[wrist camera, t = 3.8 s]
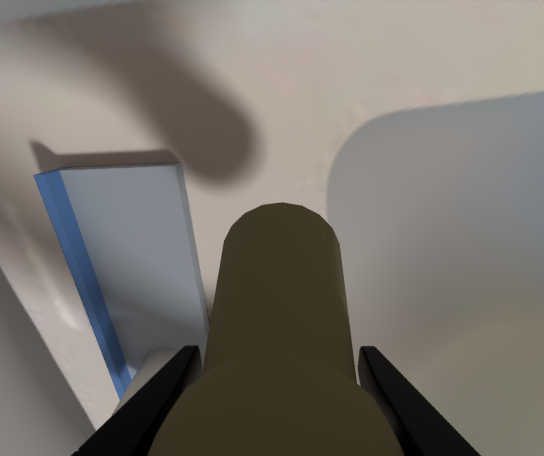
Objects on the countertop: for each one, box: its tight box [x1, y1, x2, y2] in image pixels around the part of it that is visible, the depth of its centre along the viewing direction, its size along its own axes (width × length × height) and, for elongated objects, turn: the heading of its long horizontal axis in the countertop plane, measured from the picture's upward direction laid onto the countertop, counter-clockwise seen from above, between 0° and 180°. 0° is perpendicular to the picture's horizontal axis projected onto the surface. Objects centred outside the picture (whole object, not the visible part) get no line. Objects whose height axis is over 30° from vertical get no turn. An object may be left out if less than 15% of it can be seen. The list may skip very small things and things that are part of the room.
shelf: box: [34, 163, 210, 400], centre depth 22 cm, size 21×9×2 cm, turn 3°
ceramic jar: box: [112, 349, 178, 415], centre depth 23 cm, size 5×5×6 cm
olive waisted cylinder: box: [147, 202, 405, 456], centre depth 9 cm, size 6×6×11 cm
